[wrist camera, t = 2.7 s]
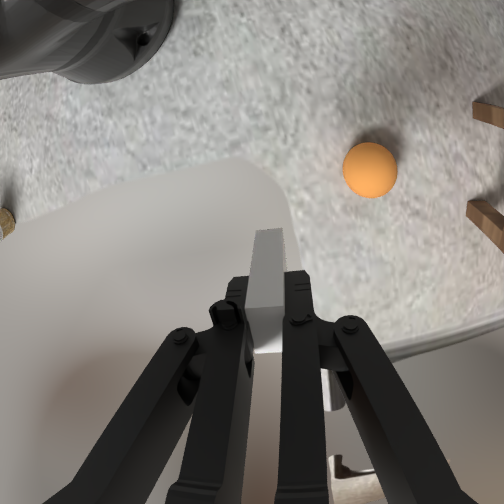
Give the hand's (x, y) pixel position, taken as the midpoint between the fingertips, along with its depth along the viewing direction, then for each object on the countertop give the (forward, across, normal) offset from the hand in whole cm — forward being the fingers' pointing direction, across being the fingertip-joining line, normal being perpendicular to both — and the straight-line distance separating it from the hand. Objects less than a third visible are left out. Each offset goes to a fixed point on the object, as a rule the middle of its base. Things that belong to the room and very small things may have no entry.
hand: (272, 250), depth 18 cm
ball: (+13, +10, 0) cm, 16 cm away
